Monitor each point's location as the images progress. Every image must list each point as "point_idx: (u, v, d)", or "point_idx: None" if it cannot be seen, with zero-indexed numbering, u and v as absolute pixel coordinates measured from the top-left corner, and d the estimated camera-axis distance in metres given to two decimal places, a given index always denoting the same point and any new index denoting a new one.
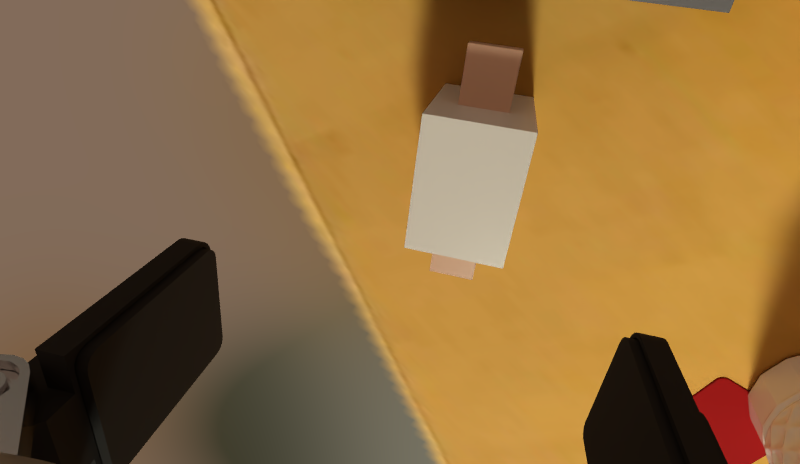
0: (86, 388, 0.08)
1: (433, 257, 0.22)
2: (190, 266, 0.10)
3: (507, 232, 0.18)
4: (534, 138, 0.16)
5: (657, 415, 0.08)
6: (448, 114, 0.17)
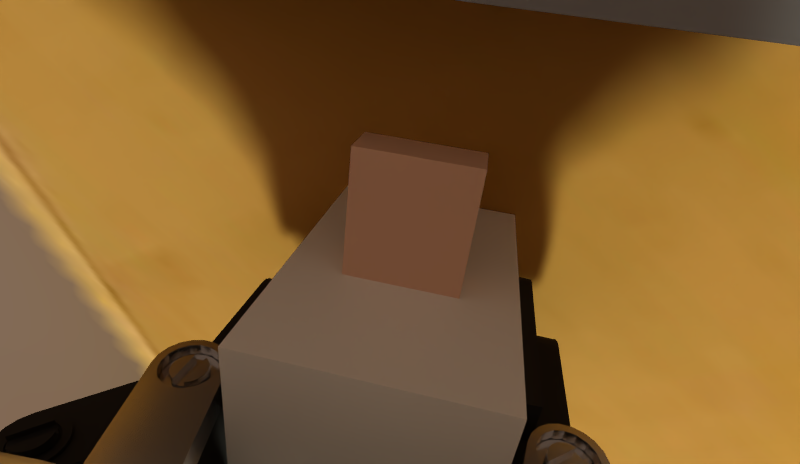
0: None
1: None
2: None
3: None
4: (518, 429, 0.06)
5: None
6: (296, 337, 0.06)
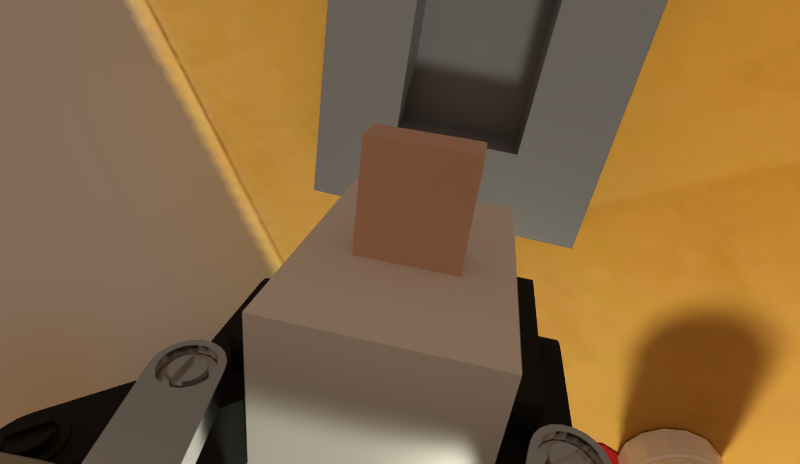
0: None
1: None
2: None
3: None
4: (514, 384, 0.06)
5: None
6: (312, 305, 0.07)
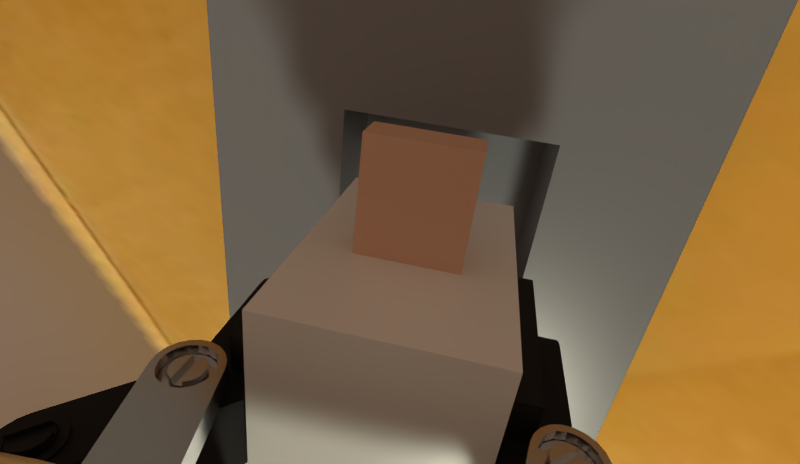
0: None
1: None
2: None
3: None
4: (514, 382, 0.06)
5: None
6: (312, 303, 0.07)
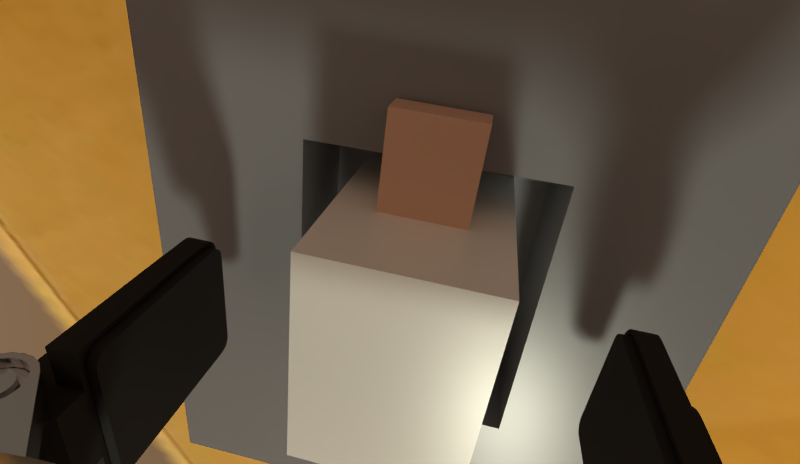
0: (95, 386, 0.08)
1: None
2: (197, 265, 0.10)
3: (464, 452, 0.10)
4: (512, 310, 0.08)
5: (650, 410, 0.08)
6: (347, 248, 0.09)
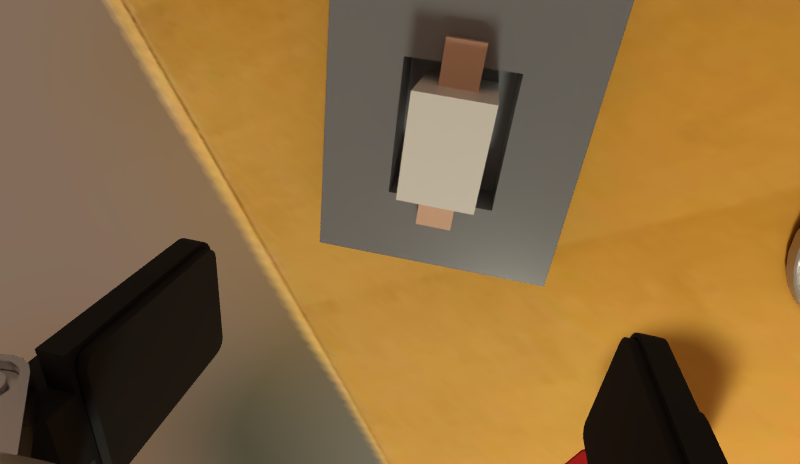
0: (86, 388, 0.08)
1: (418, 212, 0.27)
2: (190, 266, 0.10)
3: (476, 185, 0.23)
4: (496, 109, 0.21)
5: (657, 415, 0.08)
6: (431, 91, 0.22)
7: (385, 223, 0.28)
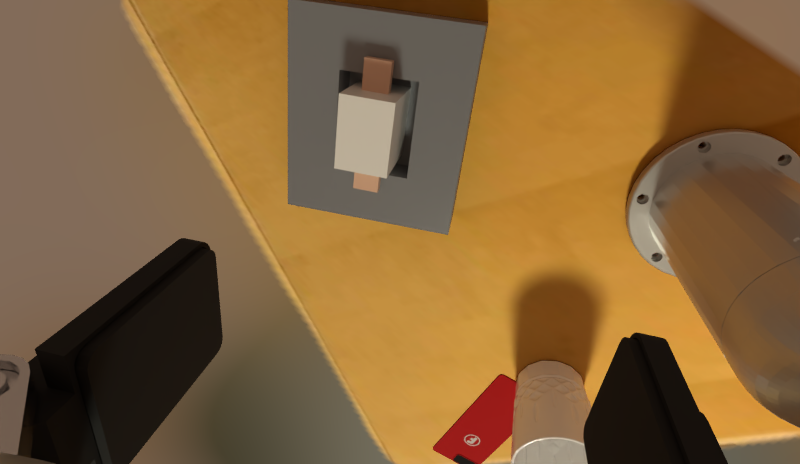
0: (86, 388, 0.08)
1: (354, 179, 0.37)
2: (190, 266, 0.10)
3: (386, 157, 0.34)
4: (394, 106, 0.32)
5: (657, 415, 0.08)
6: (353, 94, 0.33)
7: (333, 189, 0.39)
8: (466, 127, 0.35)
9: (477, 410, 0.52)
